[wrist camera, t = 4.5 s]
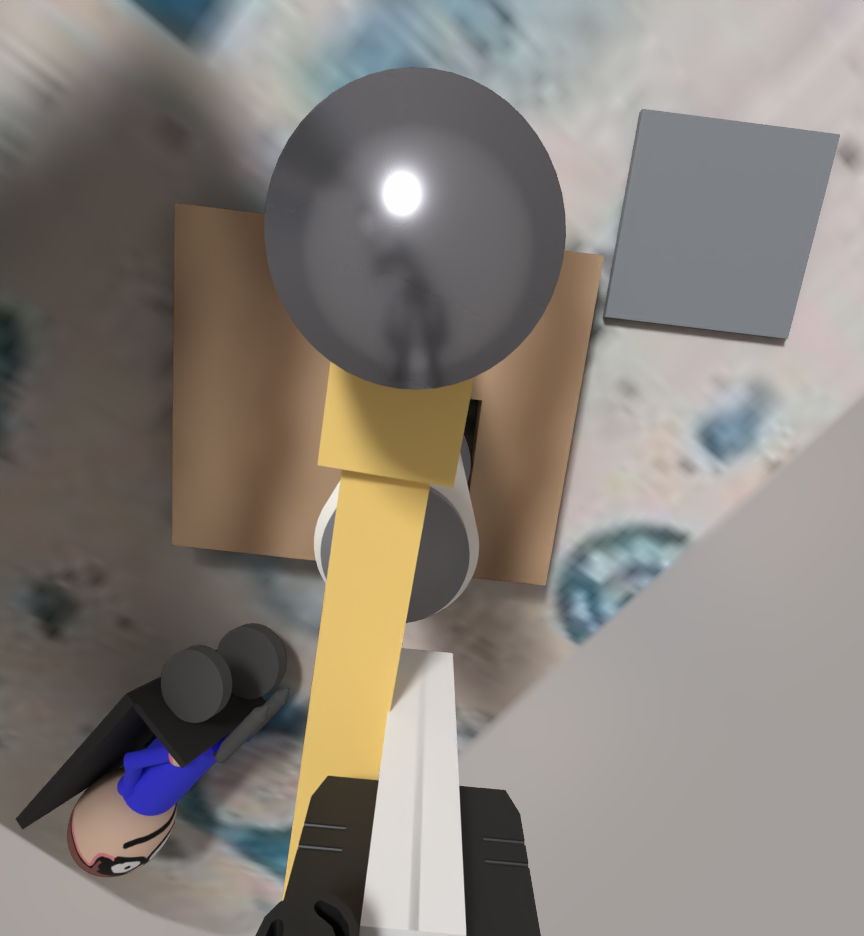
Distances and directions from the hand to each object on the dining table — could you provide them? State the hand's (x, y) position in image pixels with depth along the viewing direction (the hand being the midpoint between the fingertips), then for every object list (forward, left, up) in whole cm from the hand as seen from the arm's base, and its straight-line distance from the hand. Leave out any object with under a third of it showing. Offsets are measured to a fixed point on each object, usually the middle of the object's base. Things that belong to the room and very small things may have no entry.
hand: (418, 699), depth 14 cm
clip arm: (-1, +2, -1) cm, 2 cm away
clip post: (-1, +10, -15) cm, 18 cm away
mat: (+12, +15, -17) cm, 25 cm away
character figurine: (-12, -14, -17) cm, 25 cm away
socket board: (-3, +5, -17) cm, 18 cm away
